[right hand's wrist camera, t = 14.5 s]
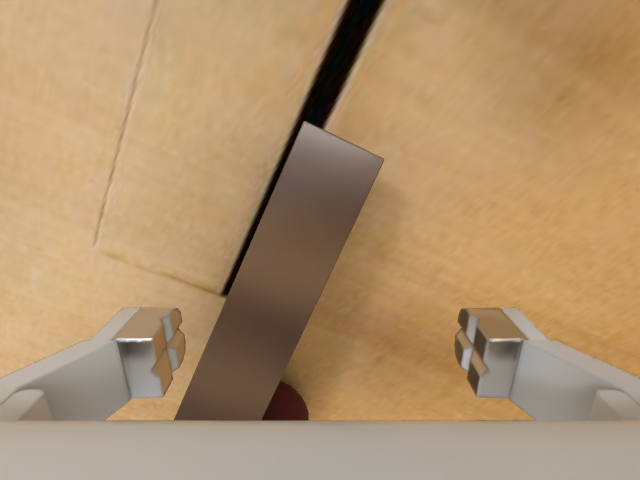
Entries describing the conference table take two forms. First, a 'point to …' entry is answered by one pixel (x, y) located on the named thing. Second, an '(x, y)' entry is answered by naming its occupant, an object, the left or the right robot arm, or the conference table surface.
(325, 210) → the bar
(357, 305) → the conference table surface
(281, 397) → the plum
